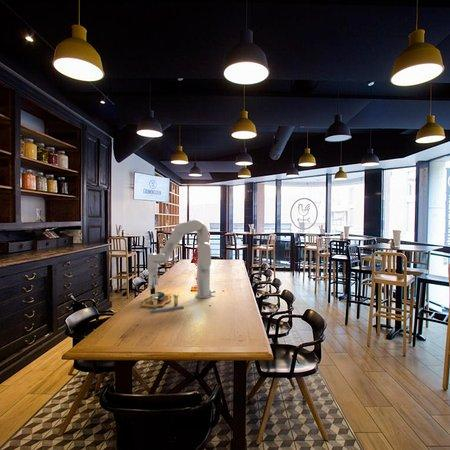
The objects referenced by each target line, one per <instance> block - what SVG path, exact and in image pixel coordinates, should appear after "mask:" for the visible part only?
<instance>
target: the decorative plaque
mask: <svg viewBox="0 0 450 450" xmlns="http://www.w3.org/2000/svg"><path fill="white" fill-rule="evenodd" d="M153 297H158V299H157V309H159V308H163V307H164V308H165V306H166V304H167V305H169V304H171V302H172V300H171V299H172V295H170V294H165V293H164V292H163V291H156V292H155V294H150V296H149V297H145V298H143V300H142V302H141V303H142V304H141V305H140V308H141V309H143V308H144V309H153V299H152V298H153Z"/></svg>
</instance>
